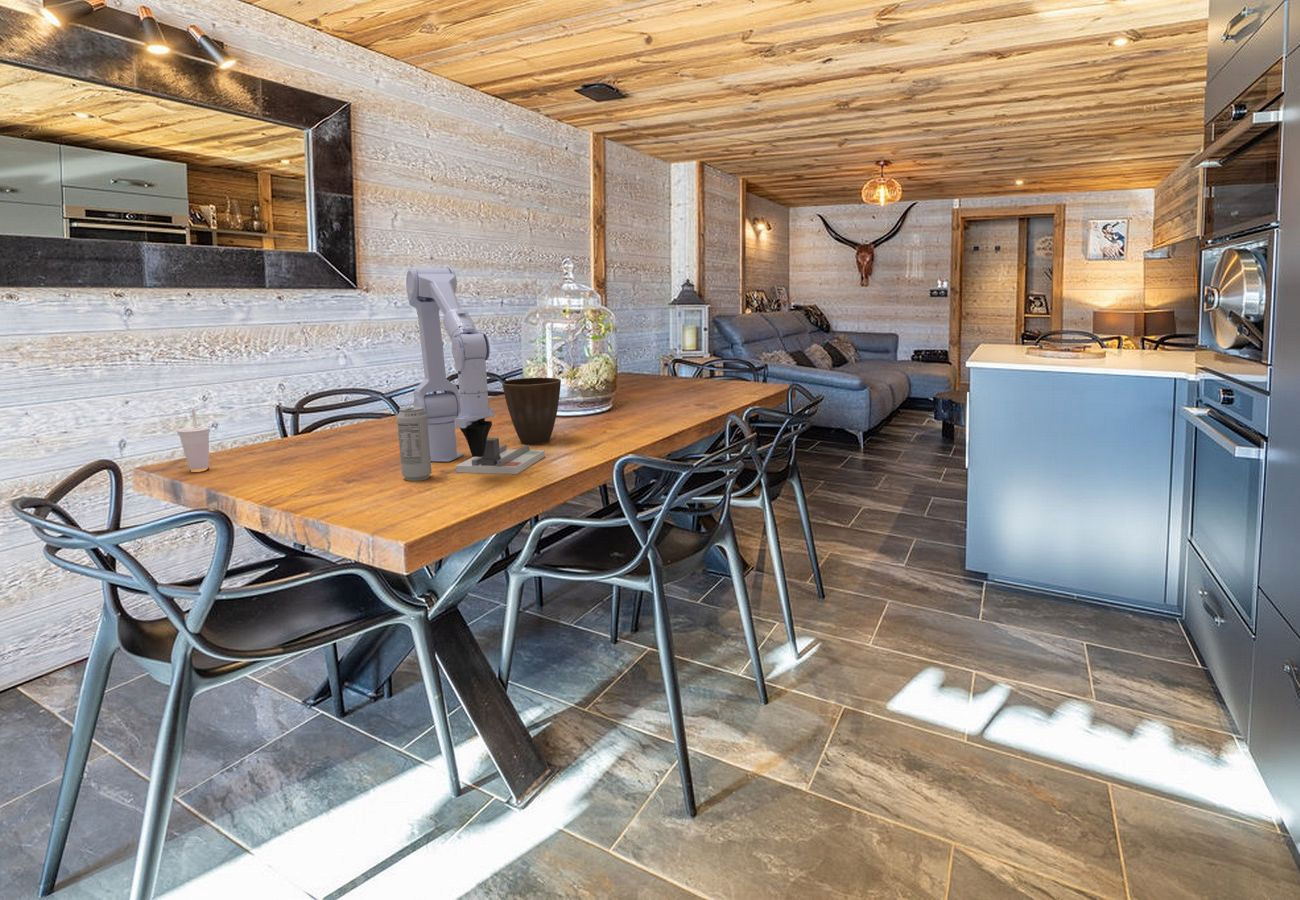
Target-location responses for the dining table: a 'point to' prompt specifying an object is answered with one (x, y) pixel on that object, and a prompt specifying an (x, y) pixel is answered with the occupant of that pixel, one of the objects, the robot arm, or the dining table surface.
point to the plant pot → (533, 407)
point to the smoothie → (195, 445)
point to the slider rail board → (503, 461)
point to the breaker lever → (491, 452)
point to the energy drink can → (414, 443)
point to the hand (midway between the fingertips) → (478, 456)
